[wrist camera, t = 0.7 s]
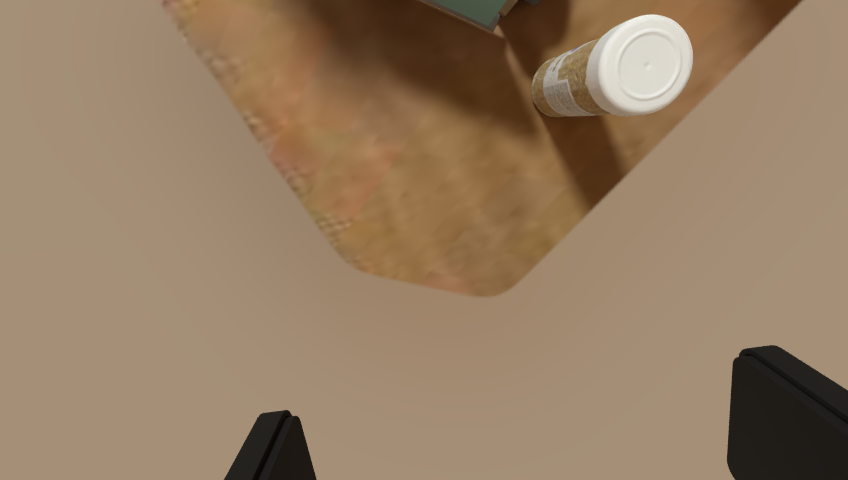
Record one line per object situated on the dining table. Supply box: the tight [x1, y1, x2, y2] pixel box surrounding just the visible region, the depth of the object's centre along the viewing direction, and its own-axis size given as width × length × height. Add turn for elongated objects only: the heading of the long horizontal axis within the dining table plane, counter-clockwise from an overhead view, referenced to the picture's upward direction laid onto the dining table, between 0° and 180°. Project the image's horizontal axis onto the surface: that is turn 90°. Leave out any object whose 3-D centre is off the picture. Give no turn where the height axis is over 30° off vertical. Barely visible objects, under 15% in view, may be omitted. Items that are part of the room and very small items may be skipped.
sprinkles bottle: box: [531, 15, 693, 118], centre depth 26 cm, size 5×5×13 cm
